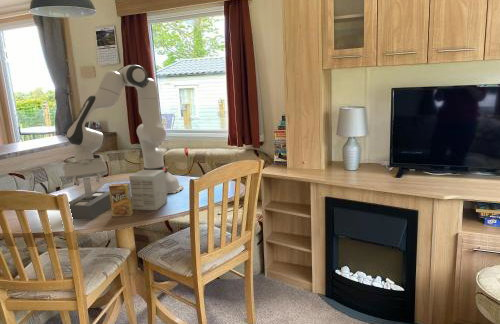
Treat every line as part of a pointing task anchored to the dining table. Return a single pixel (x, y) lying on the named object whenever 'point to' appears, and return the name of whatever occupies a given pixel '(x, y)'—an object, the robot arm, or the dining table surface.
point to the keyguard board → (90, 206)
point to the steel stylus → (87, 188)
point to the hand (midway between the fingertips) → (88, 183)
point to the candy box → (120, 199)
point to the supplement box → (148, 189)
